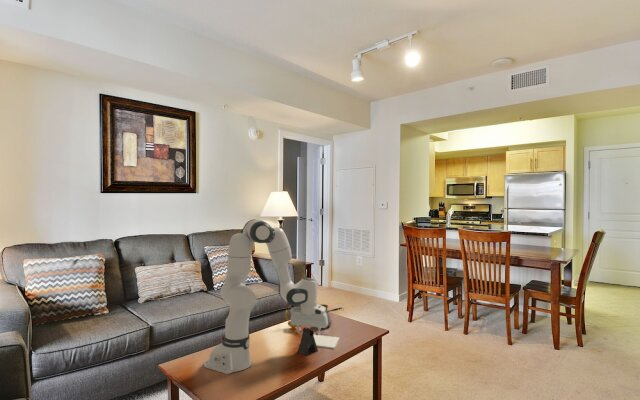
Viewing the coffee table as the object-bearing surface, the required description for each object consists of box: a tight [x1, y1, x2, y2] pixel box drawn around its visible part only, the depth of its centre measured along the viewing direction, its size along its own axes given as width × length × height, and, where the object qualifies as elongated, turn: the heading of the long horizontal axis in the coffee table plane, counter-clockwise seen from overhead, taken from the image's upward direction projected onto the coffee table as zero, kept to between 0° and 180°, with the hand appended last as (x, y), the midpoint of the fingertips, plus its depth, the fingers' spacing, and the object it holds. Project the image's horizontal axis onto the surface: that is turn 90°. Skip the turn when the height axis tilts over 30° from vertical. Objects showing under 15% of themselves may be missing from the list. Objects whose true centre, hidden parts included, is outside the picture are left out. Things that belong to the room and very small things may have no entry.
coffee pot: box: [320, 304, 344, 329], centre depth 213 cm, size 21×12×15 cm, turn 50°
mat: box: [314, 333, 341, 350], centre depth 191 cm, size 20×14×1 cm
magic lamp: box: [284, 309, 299, 332], centre depth 208 cm, size 7×18×11 cm, turn 54°
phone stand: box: [297, 326, 319, 356], centre depth 179 cm, size 9×6×12 cm, turn 127°
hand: (309, 334), depth 179 cm, fingers open, 8 cm apart
